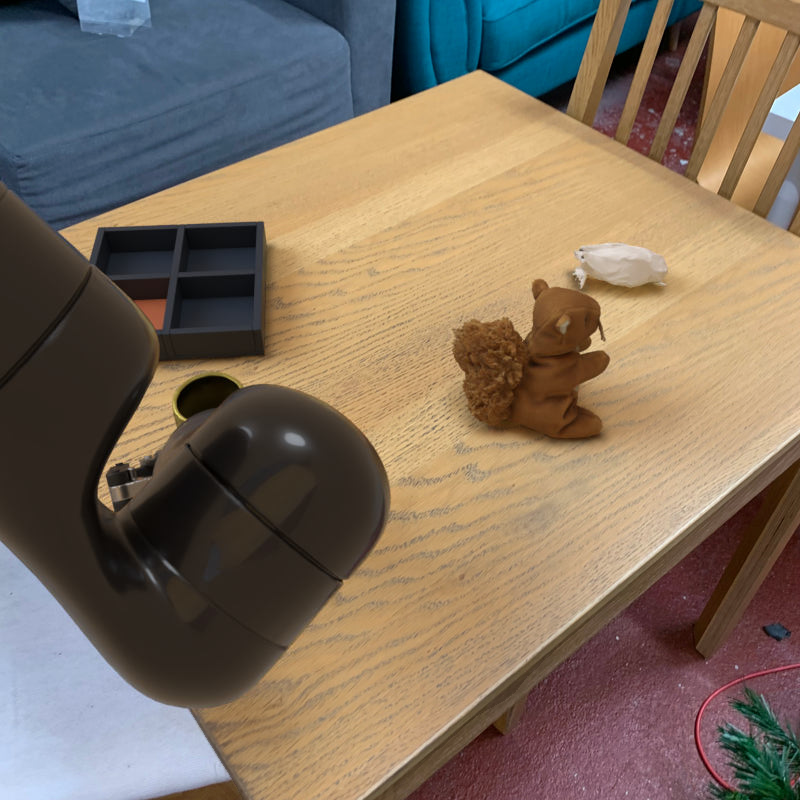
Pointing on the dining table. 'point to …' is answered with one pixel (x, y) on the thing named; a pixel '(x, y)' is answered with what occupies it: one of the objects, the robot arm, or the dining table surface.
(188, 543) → the robot arm
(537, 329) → the stuffed squirrel
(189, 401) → the vase
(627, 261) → the bird figurine
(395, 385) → the dining table surface
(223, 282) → the grid
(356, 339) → the dining table surface
